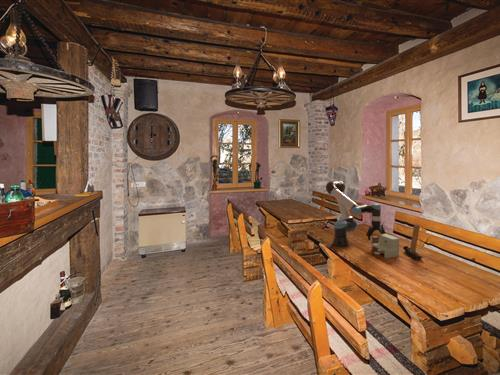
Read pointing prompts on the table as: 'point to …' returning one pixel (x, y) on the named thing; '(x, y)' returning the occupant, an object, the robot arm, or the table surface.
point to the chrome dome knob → (378, 253)
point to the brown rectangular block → (376, 240)
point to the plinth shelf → (388, 245)
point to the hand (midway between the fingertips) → (375, 242)
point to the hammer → (413, 243)
